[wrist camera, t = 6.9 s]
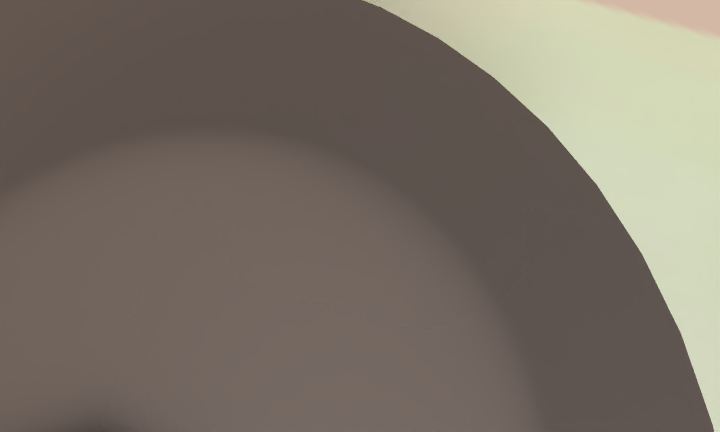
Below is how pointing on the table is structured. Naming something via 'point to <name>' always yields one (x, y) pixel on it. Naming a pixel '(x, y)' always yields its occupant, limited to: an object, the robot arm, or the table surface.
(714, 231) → the table surface
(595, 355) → the canister
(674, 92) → the table surface
